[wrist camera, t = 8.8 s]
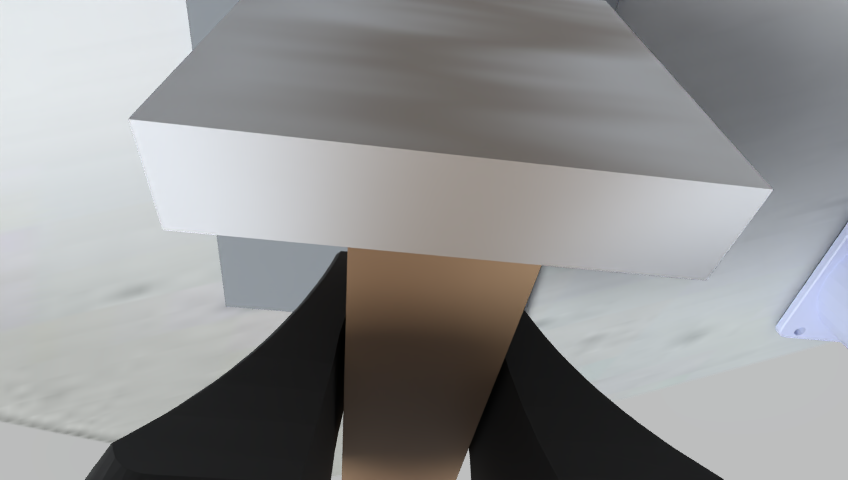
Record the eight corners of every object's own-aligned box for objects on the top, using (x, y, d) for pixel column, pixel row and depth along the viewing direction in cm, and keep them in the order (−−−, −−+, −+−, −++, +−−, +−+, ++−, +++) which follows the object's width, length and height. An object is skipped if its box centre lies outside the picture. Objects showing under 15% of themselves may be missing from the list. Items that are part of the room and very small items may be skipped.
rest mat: (624, -43, 16) (631, -42, 15) (515, 322, 25) (517, 330, 24) (179, -107, 15) (171, -108, 14) (229, 298, 24) (225, 306, 23)
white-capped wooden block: (605, 0, 11) (773, 189, 6) (493, 326, 18) (518, 535, 13) (281, -44, 10) (128, 119, 5) (304, 311, 18) (253, 521, 13)
